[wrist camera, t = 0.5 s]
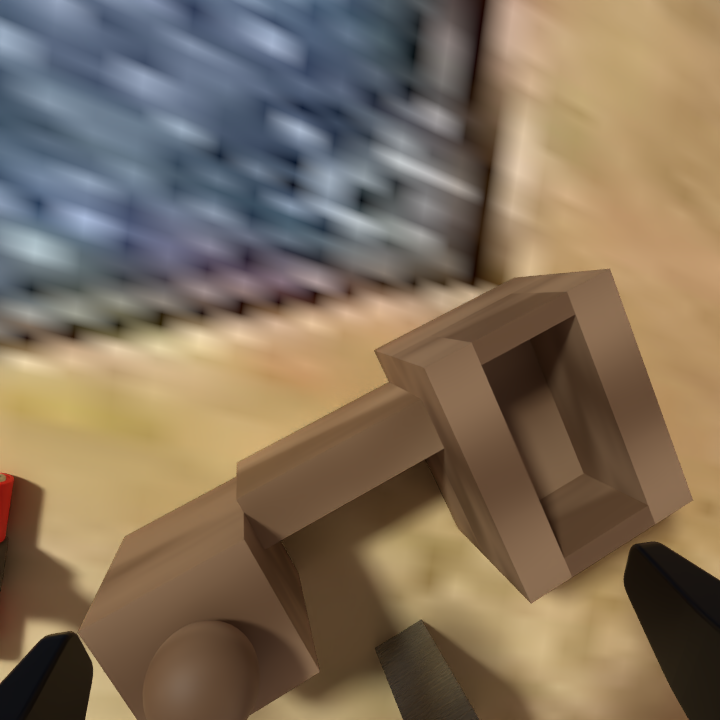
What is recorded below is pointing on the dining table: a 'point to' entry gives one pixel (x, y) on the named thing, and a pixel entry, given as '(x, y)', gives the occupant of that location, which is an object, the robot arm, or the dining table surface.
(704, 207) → the dining table surface
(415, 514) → the dining table surface
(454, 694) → the tall grey upright block
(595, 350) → the wooden hollow frame
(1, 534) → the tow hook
